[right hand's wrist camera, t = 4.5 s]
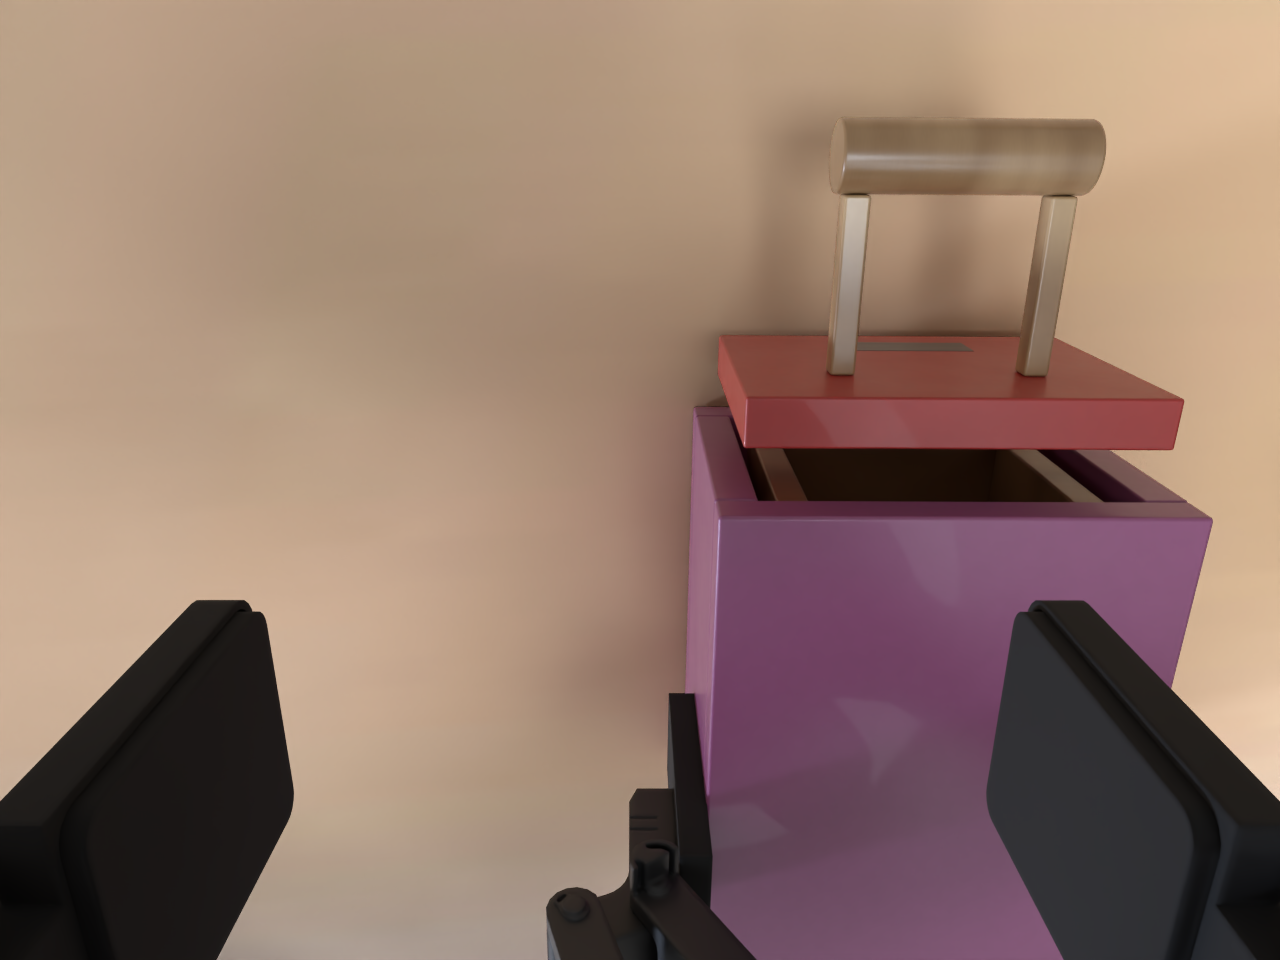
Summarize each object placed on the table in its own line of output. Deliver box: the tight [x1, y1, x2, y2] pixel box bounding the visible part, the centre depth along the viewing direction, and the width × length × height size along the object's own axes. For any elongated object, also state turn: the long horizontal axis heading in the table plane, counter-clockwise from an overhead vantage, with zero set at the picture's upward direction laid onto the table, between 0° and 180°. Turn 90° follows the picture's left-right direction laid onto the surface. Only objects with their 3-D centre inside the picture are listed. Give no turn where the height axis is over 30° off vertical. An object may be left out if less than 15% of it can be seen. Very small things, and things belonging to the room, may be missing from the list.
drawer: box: [718, 117, 1184, 502], centre depth 24 cm, size 18×10×7 cm, turn 0°
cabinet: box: [685, 407, 1213, 960], centre depth 26 cm, size 13×11×9 cm
